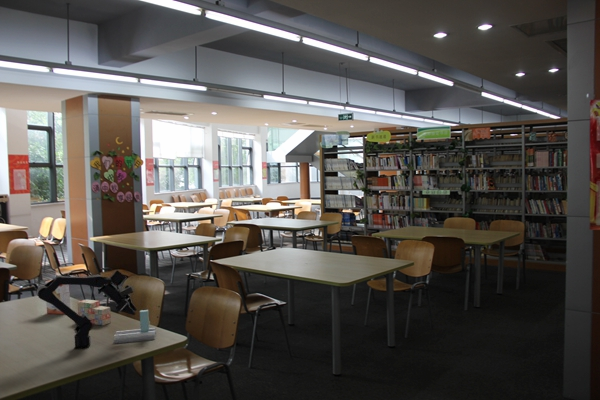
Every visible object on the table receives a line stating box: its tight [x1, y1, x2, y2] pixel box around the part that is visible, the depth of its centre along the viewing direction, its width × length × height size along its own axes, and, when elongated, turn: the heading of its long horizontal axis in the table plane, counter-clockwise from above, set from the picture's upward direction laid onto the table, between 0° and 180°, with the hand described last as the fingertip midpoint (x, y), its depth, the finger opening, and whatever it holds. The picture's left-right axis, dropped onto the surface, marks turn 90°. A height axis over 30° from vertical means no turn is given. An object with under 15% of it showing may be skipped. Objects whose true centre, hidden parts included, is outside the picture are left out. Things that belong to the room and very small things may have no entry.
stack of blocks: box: [77, 299, 112, 326], centre depth 291 cm, size 21×6×12 cm, turn 61°
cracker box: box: [44, 279, 71, 315], centre depth 315 cm, size 14×6×21 cm, turn 73°
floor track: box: [113, 327, 157, 345], centre depth 258 cm, size 20×12×4 cm, turn 102°
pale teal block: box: [139, 309, 151, 332], centre depth 259 cm, size 5×3×13 cm, turn 102°
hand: (135, 312), depth 258 cm, fingers open, 9 cm apart
